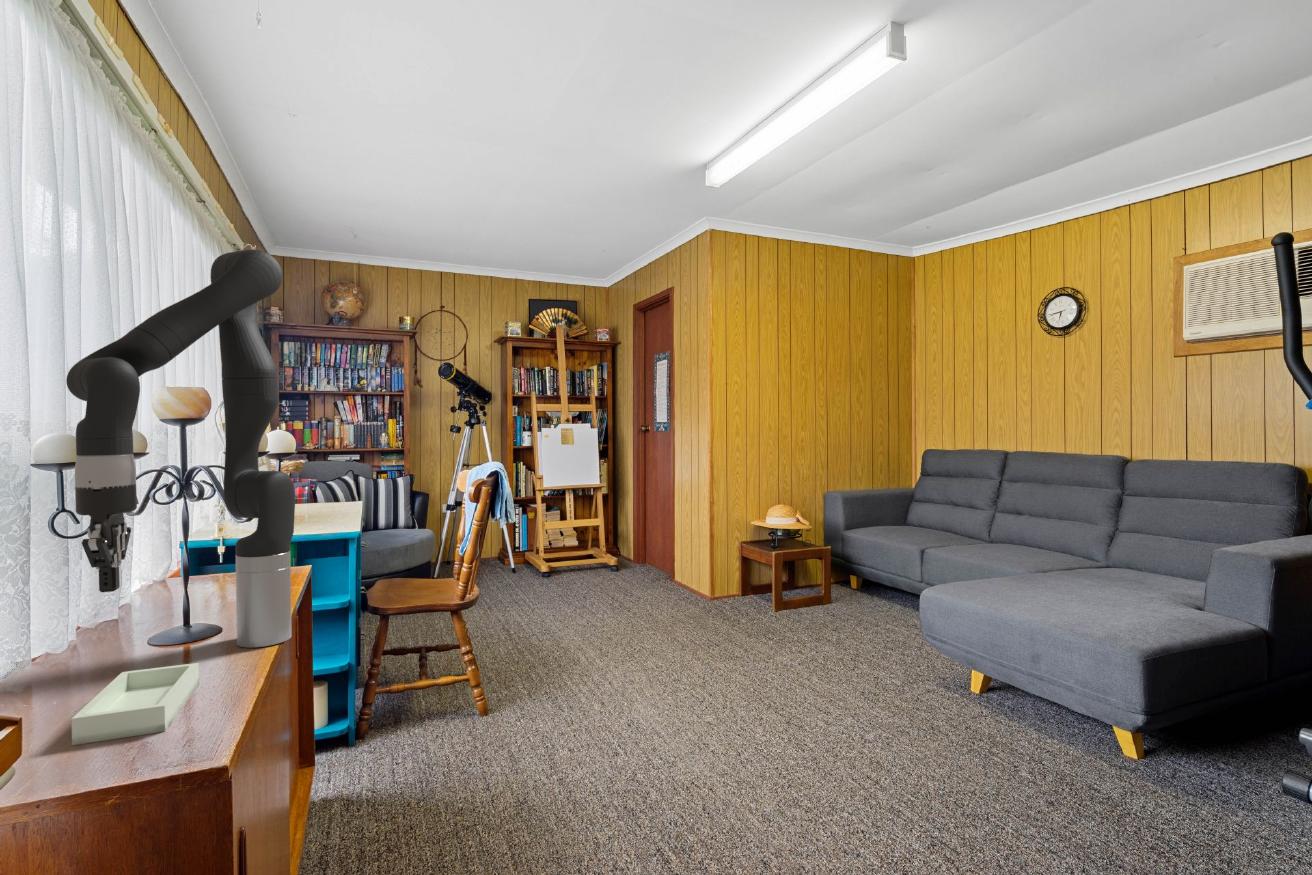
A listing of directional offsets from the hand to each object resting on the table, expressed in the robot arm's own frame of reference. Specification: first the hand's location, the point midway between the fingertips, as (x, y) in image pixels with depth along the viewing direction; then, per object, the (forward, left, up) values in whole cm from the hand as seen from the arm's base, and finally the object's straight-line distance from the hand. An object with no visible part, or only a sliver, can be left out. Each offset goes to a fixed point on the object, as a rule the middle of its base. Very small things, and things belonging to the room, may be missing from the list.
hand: (109, 590), depth 105 cm
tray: (+14, +8, -15) cm, 22 cm away
